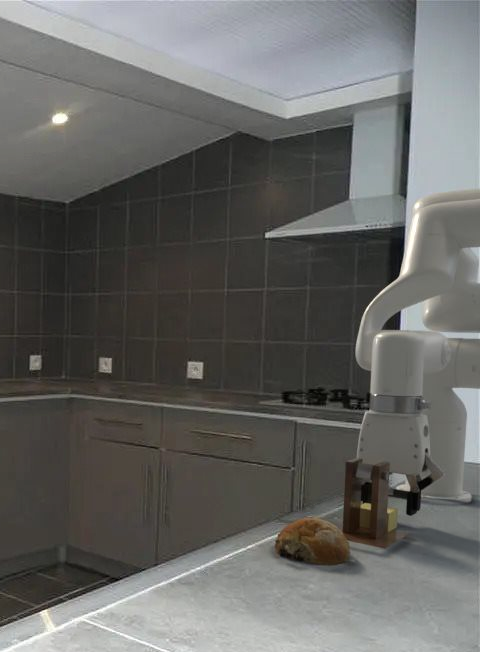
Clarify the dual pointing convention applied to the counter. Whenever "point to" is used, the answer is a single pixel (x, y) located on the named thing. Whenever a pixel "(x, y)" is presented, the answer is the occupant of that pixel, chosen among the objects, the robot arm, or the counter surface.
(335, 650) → the counter surface
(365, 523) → the butter
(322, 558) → the bread roll
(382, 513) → the cutter
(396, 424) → the robot arm
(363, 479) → the arm
